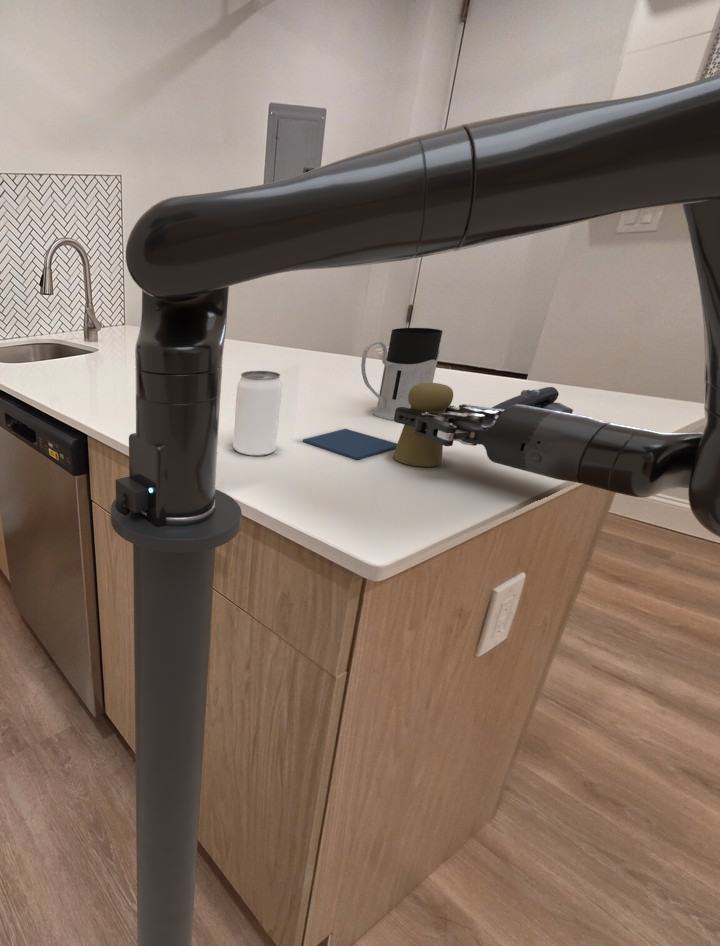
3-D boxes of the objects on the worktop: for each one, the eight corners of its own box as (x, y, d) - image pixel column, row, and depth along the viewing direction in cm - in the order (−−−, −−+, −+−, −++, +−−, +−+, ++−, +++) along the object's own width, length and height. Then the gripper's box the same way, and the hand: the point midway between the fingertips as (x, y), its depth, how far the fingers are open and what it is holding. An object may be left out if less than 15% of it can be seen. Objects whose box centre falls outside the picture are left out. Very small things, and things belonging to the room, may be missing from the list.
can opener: (530, 412, 93) (539, 381, 91) (576, 422, 87) (587, 388, 85) (459, 427, 88) (467, 394, 85) (503, 438, 82) (513, 403, 79)
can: (284, 453, 80) (292, 376, 76) (246, 459, 79) (252, 380, 74) (260, 440, 86) (267, 368, 81) (225, 445, 85) (229, 372, 80)
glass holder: (440, 418, 92) (460, 331, 86) (370, 427, 90) (385, 338, 84) (402, 406, 100) (418, 325, 94) (337, 414, 98) (349, 332, 92)
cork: (449, 467, 72) (468, 388, 68) (401, 466, 73) (417, 389, 69) (430, 452, 78) (447, 379, 73) (386, 451, 79) (400, 379, 74)
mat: (356, 460, 77) (357, 457, 76) (302, 441, 85) (302, 439, 85) (401, 447, 80) (401, 444, 80) (345, 430, 89) (345, 428, 89)
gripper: (589, 402, 62) (442, 379, 77) (522, 422, 57) (378, 393, 71) (569, 460, 65) (431, 427, 80) (504, 485, 60) (369, 444, 74)
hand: (407, 411), depth 75 cm, fingers closed on cork, 4 cm apart
